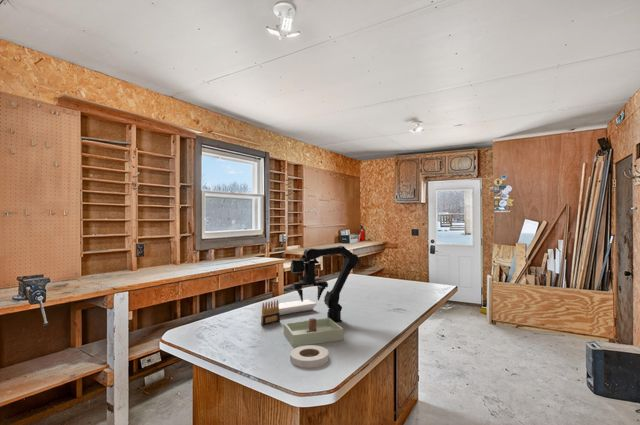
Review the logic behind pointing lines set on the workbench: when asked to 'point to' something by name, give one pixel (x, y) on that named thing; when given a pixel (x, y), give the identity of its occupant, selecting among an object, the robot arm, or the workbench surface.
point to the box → (302, 336)
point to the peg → (312, 325)
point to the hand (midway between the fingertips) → (310, 301)
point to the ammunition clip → (270, 313)
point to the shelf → (295, 306)
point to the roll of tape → (314, 361)
